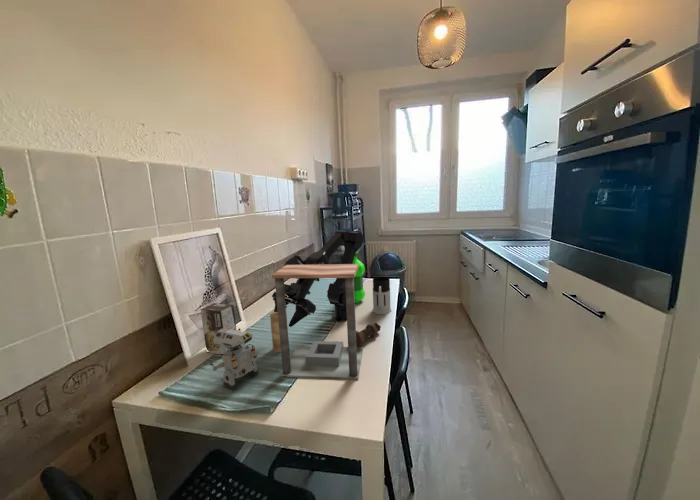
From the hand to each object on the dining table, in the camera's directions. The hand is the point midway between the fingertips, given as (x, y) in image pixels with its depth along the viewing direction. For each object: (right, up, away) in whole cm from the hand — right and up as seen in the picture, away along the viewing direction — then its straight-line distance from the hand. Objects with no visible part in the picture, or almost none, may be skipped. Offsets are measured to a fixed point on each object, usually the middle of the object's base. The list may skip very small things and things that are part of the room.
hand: (281, 323), depth 102 cm
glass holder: (+38, -3, +30) cm, 48 cm away
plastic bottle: (+27, 0, +46) cm, 53 cm away
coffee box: (-21, -10, +2) cm, 23 cm away
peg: (-1, -9, 0) cm, 9 cm away
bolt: (+30, -7, +5) cm, 32 cm away
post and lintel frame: (+16, -10, -9) cm, 21 cm away
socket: (+16, -10, -7) cm, 20 cm away
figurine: (-9, -13, -16) cm, 22 cm away
